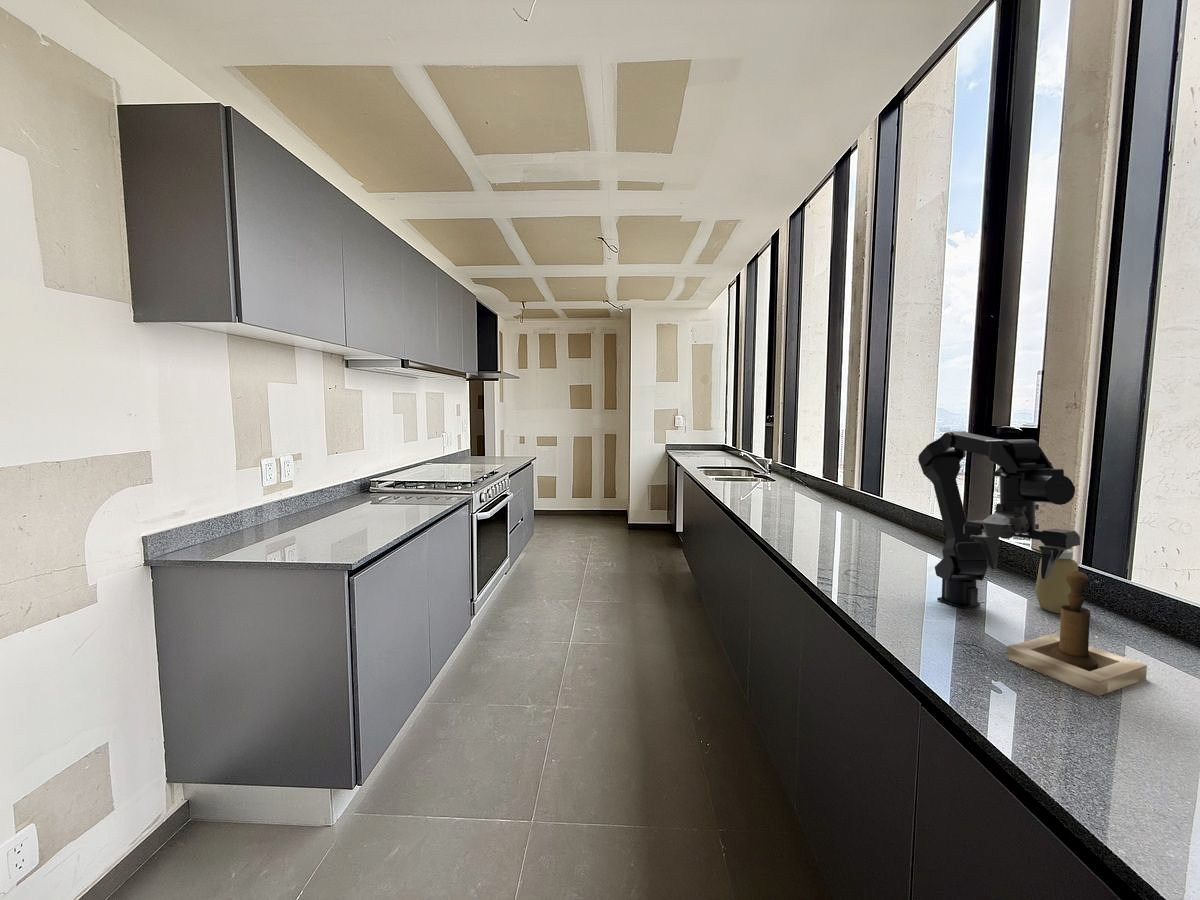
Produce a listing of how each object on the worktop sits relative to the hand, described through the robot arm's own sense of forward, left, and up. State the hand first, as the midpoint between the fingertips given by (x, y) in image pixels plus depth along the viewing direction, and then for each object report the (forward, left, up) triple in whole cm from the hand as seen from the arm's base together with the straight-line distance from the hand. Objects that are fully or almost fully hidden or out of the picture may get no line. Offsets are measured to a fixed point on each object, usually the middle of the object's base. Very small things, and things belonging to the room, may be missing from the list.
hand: (1018, 573), depth 109 cm
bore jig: (+13, -7, -13) cm, 20 cm away
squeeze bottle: (-5, +22, -13) cm, 26 cm away
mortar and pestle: (+13, -7, -13) cm, 20 cm away
